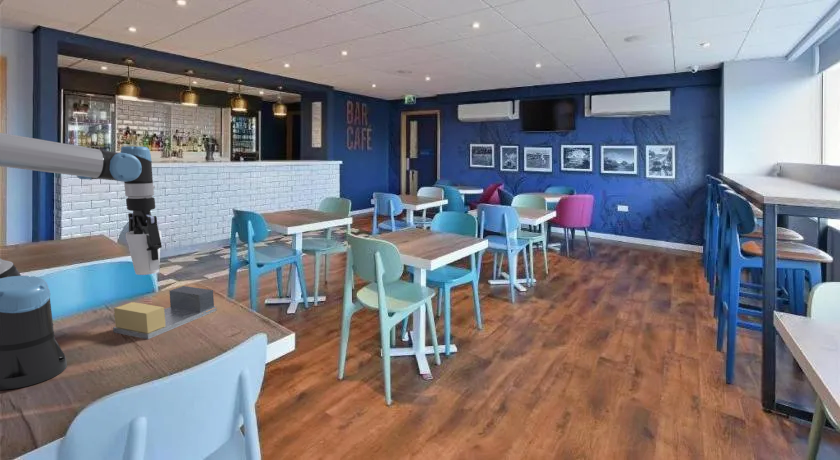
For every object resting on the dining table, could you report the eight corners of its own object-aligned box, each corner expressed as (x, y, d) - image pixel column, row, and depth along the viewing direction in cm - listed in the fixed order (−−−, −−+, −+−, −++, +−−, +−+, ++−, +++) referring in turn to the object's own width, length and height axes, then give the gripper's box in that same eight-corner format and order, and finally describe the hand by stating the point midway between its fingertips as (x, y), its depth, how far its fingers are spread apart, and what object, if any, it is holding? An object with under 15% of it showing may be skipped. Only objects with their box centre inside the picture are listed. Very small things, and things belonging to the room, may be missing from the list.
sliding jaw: (147, 333, 130) (146, 313, 129) (115, 326, 134) (113, 308, 133) (165, 326, 135) (164, 307, 134) (134, 320, 140) (132, 302, 139)
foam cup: (171, 270, 144) (167, 230, 142) (145, 277, 135) (141, 235, 133) (148, 267, 147) (145, 228, 144) (122, 274, 138) (118, 233, 136)
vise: (148, 339, 129) (146, 314, 128) (113, 332, 134) (111, 308, 133) (216, 310, 154) (215, 289, 153) (185, 305, 159) (183, 285, 158)
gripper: (170, 198, 134) (176, 270, 137) (137, 193, 146) (143, 260, 150) (143, 200, 127) (150, 275, 131) (111, 195, 140) (118, 264, 144)
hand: (147, 267), depth 141 cm, fingers closed on foam cup, 9 cm apart
